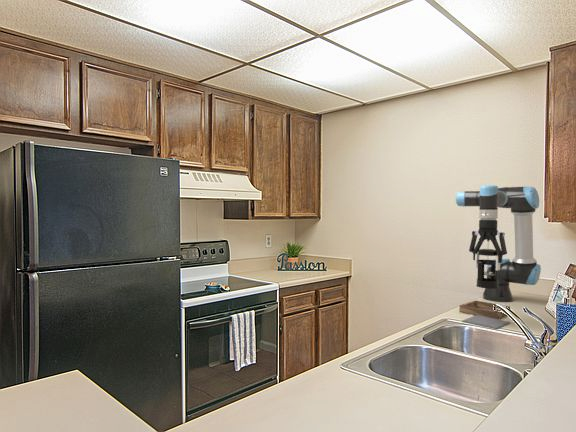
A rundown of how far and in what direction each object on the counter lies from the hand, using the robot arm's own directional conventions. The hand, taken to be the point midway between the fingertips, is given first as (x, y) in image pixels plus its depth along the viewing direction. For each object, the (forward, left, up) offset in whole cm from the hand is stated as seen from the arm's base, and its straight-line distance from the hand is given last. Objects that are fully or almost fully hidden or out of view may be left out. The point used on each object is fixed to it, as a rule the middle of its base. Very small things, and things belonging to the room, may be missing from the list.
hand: (487, 268), depth 188 cm
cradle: (-17, -8, -25) cm, 31 cm away
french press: (0, 0, -9) cm, 9 cm away
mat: (0, 0, -25) cm, 25 cm away
